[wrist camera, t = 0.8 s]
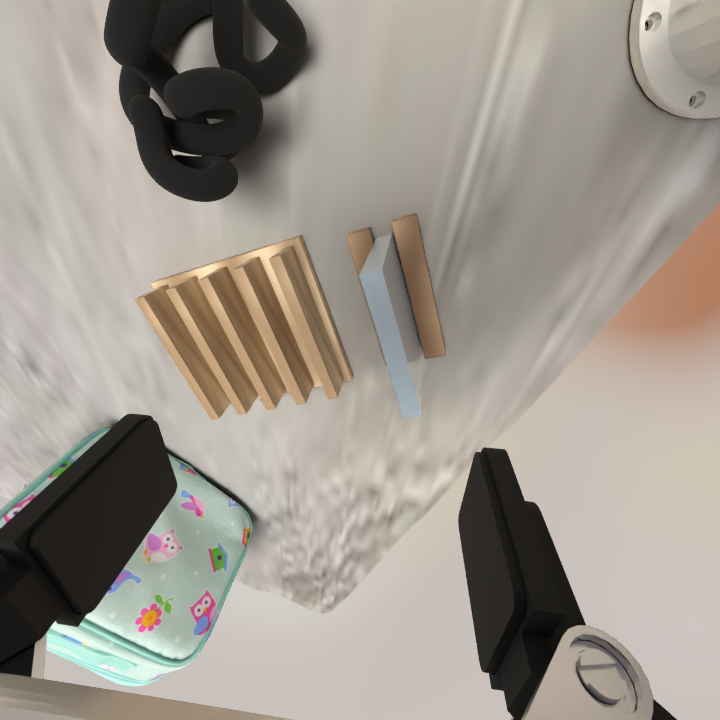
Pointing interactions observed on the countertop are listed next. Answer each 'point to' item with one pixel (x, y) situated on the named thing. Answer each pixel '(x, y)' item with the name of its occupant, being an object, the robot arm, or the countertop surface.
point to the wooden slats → (407, 278)
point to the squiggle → (198, 86)
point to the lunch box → (155, 581)
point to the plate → (394, 322)
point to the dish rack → (250, 329)
